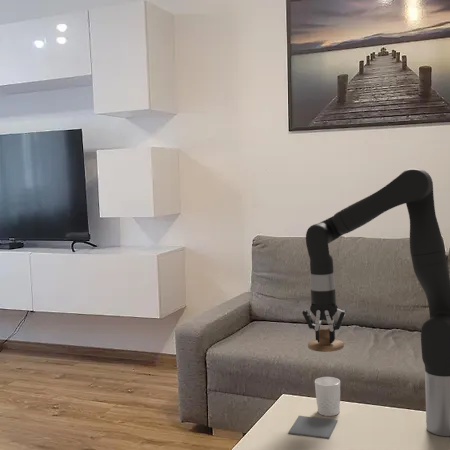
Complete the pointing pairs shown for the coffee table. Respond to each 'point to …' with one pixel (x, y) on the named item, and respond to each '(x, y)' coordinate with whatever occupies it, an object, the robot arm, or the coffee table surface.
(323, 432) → the mat
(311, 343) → the lid
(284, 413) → the coffee table surface
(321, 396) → the white cup
